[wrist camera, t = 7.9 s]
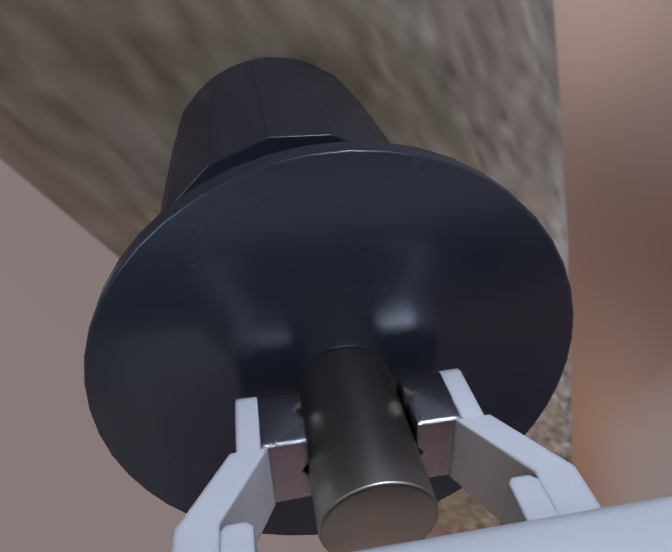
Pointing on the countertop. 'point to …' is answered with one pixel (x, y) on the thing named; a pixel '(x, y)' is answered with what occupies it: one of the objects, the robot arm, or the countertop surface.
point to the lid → (326, 327)
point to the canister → (261, 119)
